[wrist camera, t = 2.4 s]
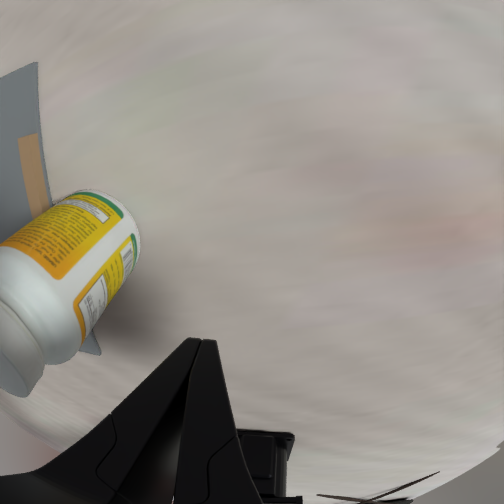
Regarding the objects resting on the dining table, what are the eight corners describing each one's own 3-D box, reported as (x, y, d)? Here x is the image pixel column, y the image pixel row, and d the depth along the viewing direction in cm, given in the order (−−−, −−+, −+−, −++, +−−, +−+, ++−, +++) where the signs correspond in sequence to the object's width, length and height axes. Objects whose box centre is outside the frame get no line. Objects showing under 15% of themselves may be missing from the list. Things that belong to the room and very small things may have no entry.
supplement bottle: (160, 261, 16) (75, 418, 7) (91, 284, 17) (8, 406, 8) (113, 169, 13) (-40, 280, 5) (48, 207, 14) (-71, 308, 6)
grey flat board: (101, 352, 20) (96, 362, 19) (30, 334, 21) (25, 342, 20) (37, 62, 10) (25, 62, 9) (-35, 98, 11) (-45, 101, 10)
